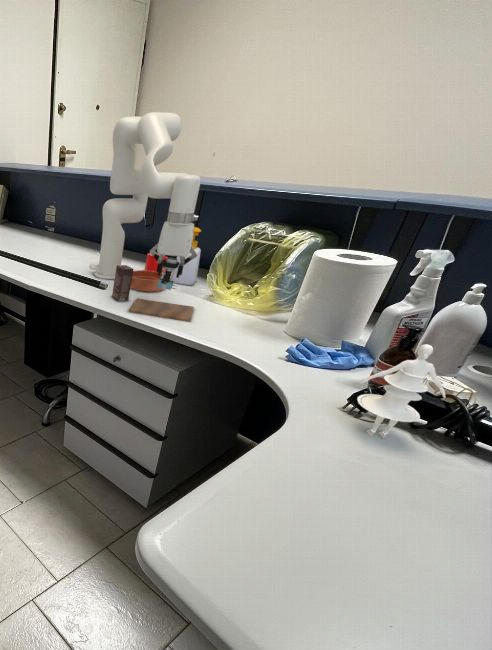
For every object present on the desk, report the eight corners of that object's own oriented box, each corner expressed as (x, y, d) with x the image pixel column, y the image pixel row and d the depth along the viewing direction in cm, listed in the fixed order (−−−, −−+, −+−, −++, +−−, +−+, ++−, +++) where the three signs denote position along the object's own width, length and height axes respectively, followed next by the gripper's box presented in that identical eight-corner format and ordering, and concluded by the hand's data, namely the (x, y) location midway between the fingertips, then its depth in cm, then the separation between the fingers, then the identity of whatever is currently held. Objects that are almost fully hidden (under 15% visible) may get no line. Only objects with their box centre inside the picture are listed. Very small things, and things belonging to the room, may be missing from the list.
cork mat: (128, 312, 141) (129, 309, 141) (136, 300, 152) (137, 298, 152) (189, 321, 134) (190, 319, 134) (193, 308, 145) (193, 306, 145)
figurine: (406, 428, 84) (461, 339, 74) (425, 456, 76) (489, 360, 66) (331, 413, 88) (373, 327, 78) (342, 438, 80) (390, 346, 70)
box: (129, 301, 152) (134, 268, 146) (118, 301, 151) (122, 269, 145) (122, 296, 157) (126, 264, 151) (111, 296, 156) (115, 265, 150)
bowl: (123, 289, 164) (125, 277, 162) (131, 280, 176) (132, 268, 173) (161, 294, 159) (163, 282, 156) (166, 284, 170) (168, 272, 168)
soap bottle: (167, 285, 170) (178, 229, 158) (173, 277, 180) (184, 224, 169) (191, 289, 166) (204, 231, 154) (196, 280, 176) (209, 226, 165)
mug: (168, 276, 182) (171, 258, 178) (142, 272, 187) (145, 254, 183) (173, 272, 187) (176, 255, 183) (147, 268, 193) (150, 251, 189)
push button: (177, 288, 140) (185, 259, 135) (174, 292, 136) (183, 262, 131) (157, 284, 143) (165, 255, 137) (154, 288, 138) (162, 258, 133)
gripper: (209, 219, 128) (196, 276, 137) (153, 215, 134) (144, 270, 143) (208, 222, 122) (194, 282, 131) (150, 218, 128) (140, 275, 137)
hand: (168, 275), depth 137 cm, fingers closed on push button, 5 cm apart
